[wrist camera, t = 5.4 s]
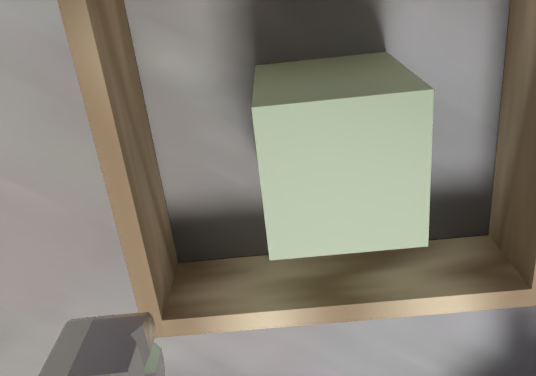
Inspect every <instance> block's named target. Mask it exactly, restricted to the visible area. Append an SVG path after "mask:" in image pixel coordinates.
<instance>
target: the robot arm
mask: <svg viewBox="0 0 536 376" xmlns="http://www.w3.org/2000/svg"><path fill="white" fill-rule="evenodd" d="M156 330H157V329H156V326H155V322H154V319H153V316H152V315H151V314H150V313H149V312H145V313H133V314H121V315H108V316H98V317H87V318H76V319H71V320H70V321H68V322H67V323H66V324H65V326H64V328H63V330H62V332H61V334H60V336H59V338H58V339H57V341H56V343H55V345H54V347H53V349H52V351H51V353H50V355H49V356H48V358H47V360H46V362H45V364H44V366H43V368H42V370H41V372H40V373H39V375H38V376H165V366H164V358H163V354H162V350H161V348H160V347H159V346H158V345H157V344H156V343H154V338H155V334H156Z"/></svg>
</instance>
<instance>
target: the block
mask: <svg viewBox="0 0 536 376" xmlns="http://www.w3.org/2000/svg"><path fill="white" fill-rule="evenodd" d="M433 102H434V89H433V88H432V87H431V86H429V85H428V84H427V83H425V82H424V81H423V80H422V79H420V78H419V77H418V76H417V75H415V74H414V73H413V72H411V71H410V70H409V69H408V68H406V67H405V66H404V65H403V64H401V63H400V62H399V61H397V60H396V59H395V58H394V57H392V56H391V55H390V54H389V53H387V52H379V53H369V54H359V55H350V56H340V57H331V58H321V59H312V60H302V61H292V62H283V63H273V64H264V65H255V75H254V85H253V96H252V106H251V109H252V117H253V126H254V134H255V142H256V151H257V159H258V167H259V176H260V184H261V193H262V201H263V209H264V218H265V226H266V235H267V243H268V251H269V260H281V259H293V258H304V257H315V256H326V255H337V254H349V253H360V252H371V251H382V250H394V249H405V248H416V247H427V246H428V241H429V213H430V185H431V157H432V129H433Z"/></svg>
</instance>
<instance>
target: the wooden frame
mask: <svg viewBox="0 0 536 376" xmlns="http://www.w3.org/2000/svg"><path fill="white" fill-rule="evenodd" d="M57 1H58V5H59V8H60V12H61V16H62V20H63V24H64V28H65V31H66V35H67V39H68V43H69V47H70V51H71V54H72V58H73V62H74V66H75V70H76V74H77V77H78V81H79V85H80V89H81V93H82V97H83V101H84V104H85V108H86V112H87V116H88V120H89V124H90V127H91V131H92V135H93V139H94V143H95V147H96V150H97V154H98V158H99V162H100V166H101V170H102V173H103V177H104V181H105V185H106V189H107V193H108V197H109V200H110V204H111V208H112V212H113V216H114V220H115V223H116V227H117V231H118V235H119V239H120V243H121V246H122V250H123V254H124V258H125V262H126V266H127V269H128V273H129V277H130V281H131V285H132V289H133V293H134V296H135V300H136V304H137V308H138V312H139V313H145V312H149V313H150V314H151V315H152V316H153V319H154V322H155V326H156V329H157V330H156V334H155V338H158V337H170V336H182V335H194V334H206V333H218V332H230V331H242V330H254V329H265V328H277V327H289V326H301V325H313V324H325V323H337V322H349V321H361V320H373V319H385V318H397V317H408V316H420V315H432V314H444V313H456V312H468V311H480V310H492V309H504V308H516V307H528V306H536V0H511V1H510V12H509V22H508V33H507V44H506V54H505V65H504V76H503V86H502V97H501V108H500V118H499V129H498V140H497V150H496V161H495V172H494V182H493V193H492V204H491V214H490V225H489V235H485V236H474V237H463V238H452V239H441V240H429V241H428V246H427V247H416V248H405V249H394V250H382V251H371V252H360V253H349V254H337V255H326V256H315V257H304V258H293V259H281V260H269V255H262V256H251V257H240V258H228V259H217V260H206V261H195V262H184V263H178V260H177V255H176V250H175V245H174V240H173V236H172V231H171V226H170V221H169V217H168V212H167V207H166V202H165V197H164V193H163V188H162V183H161V178H160V173H159V169H158V164H157V159H156V154H155V150H154V145H153V140H152V135H151V130H150V126H149V121H148V116H147V111H146V106H145V102H144V97H143V92H142V87H141V82H140V78H139V73H138V68H137V63H136V59H135V54H134V49H133V44H132V39H131V35H130V30H129V25H128V20H127V15H126V11H125V6H124V1H123V0H57Z"/></svg>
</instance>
